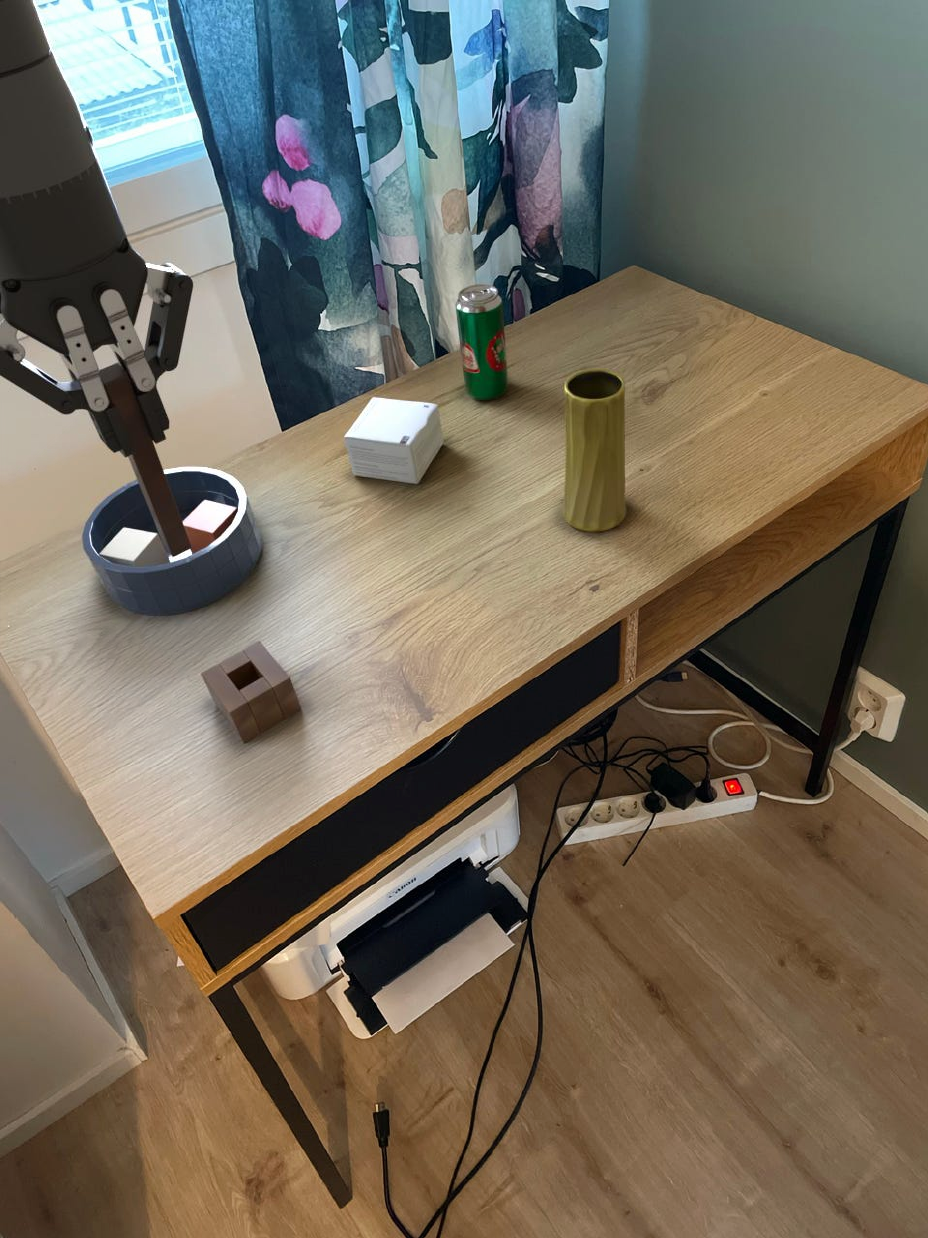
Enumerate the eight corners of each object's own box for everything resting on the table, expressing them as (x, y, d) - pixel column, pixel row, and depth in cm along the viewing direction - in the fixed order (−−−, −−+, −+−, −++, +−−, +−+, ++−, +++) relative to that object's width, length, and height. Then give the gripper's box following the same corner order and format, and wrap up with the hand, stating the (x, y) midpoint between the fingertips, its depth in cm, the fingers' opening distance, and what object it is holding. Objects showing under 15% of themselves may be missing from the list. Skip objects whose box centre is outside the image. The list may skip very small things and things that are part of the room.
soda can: (460, 385, 106) (448, 288, 97) (500, 375, 107) (492, 278, 98) (473, 407, 103) (462, 308, 94) (514, 396, 103) (507, 297, 95)
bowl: (140, 641, 81) (117, 598, 77) (82, 556, 91) (59, 514, 87) (289, 561, 87) (275, 518, 83) (220, 490, 96) (204, 447, 92)
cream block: (149, 592, 85) (133, 561, 82) (114, 585, 86) (98, 554, 83) (172, 564, 88) (158, 533, 85) (138, 557, 89) (123, 526, 86)
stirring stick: (173, 558, 67) (104, 384, 54) (163, 545, 68) (93, 371, 55) (192, 548, 68) (128, 374, 55) (182, 535, 69) (117, 361, 56)
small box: (380, 434, 101) (372, 394, 97) (445, 443, 98) (439, 402, 94) (351, 476, 96) (341, 435, 92) (418, 486, 93) (411, 445, 90)
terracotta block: (225, 564, 87) (212, 533, 84) (192, 555, 88) (179, 524, 85) (248, 538, 89) (237, 507, 86) (216, 530, 91) (204, 499, 88)
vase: (553, 503, 89) (548, 376, 79) (609, 486, 90) (611, 358, 80) (578, 540, 85) (576, 410, 75) (637, 521, 86) (643, 391, 76)
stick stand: (243, 744, 72) (229, 713, 69) (215, 704, 75) (200, 673, 72) (301, 708, 74) (290, 677, 71) (271, 671, 77) (259, 640, 74)
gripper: (118, 113, 51) (210, 382, 63) (-130, 187, 46) (21, 463, 58) (171, 140, 47) (259, 424, 59) (-98, 226, 42) (59, 516, 54)
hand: (140, 443), depth 59 cm, fingers closed on stirring stick, 1 cm apart
